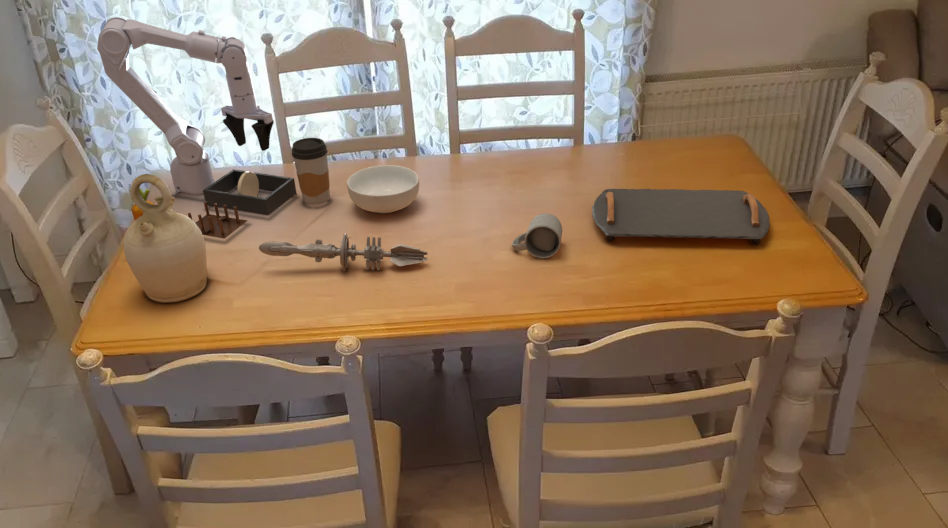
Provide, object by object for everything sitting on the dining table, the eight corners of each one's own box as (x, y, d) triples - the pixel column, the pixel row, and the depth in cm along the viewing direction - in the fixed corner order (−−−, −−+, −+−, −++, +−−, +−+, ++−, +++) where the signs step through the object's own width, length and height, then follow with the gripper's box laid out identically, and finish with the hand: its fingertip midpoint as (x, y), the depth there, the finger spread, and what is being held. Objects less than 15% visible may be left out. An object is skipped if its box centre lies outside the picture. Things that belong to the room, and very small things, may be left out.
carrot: (171, 246, 189) (154, 184, 181) (155, 256, 186) (138, 194, 177) (154, 242, 191) (136, 181, 183) (138, 252, 188) (120, 190, 179)
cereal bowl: (337, 216, 199) (333, 188, 195) (370, 187, 211) (367, 161, 207) (402, 227, 193) (399, 198, 189) (432, 196, 206) (430, 169, 202)
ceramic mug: (562, 241, 185) (563, 209, 181) (560, 259, 179) (560, 227, 174) (514, 239, 187) (513, 208, 182) (510, 258, 180) (509, 225, 176)
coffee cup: (337, 195, 208) (330, 136, 200) (330, 210, 202) (321, 150, 193) (304, 194, 209) (295, 136, 201) (295, 209, 202) (285, 150, 194)
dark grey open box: (207, 209, 204) (202, 190, 201) (237, 188, 214) (233, 169, 211) (269, 219, 199) (265, 199, 196) (297, 197, 208) (294, 178, 205)
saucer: (242, 209, 203) (234, 181, 198) (259, 192, 208) (251, 165, 203) (245, 209, 203) (237, 182, 198) (262, 193, 208) (254, 165, 203)
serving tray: (592, 246, 183) (593, 220, 179) (590, 198, 202) (592, 174, 198) (776, 249, 179) (781, 223, 176) (757, 201, 198) (761, 176, 194)
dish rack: (184, 235, 193) (179, 215, 190) (208, 218, 200) (203, 198, 197) (225, 243, 190) (220, 222, 187) (248, 225, 197) (244, 204, 194)
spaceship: (262, 226, 178) (254, 230, 171) (428, 235, 181) (428, 239, 173) (262, 264, 180) (254, 269, 172) (426, 272, 182) (426, 277, 175)
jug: (170, 263, 183) (139, 155, 169) (229, 275, 178) (203, 164, 164) (121, 299, 172) (84, 186, 157) (183, 313, 166) (151, 197, 152)
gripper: (276, 91, 200) (286, 145, 208) (231, 83, 206) (242, 136, 214) (256, 100, 195) (267, 156, 203) (210, 93, 201) (223, 146, 209)
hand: (253, 146), depth 208 cm, fingers open, 7 cm apart
